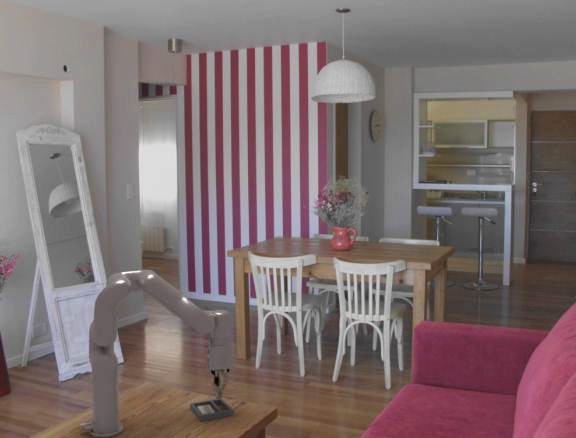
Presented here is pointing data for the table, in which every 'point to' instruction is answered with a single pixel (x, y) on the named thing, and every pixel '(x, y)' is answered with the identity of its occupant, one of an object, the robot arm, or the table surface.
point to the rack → (213, 404)
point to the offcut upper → (205, 409)
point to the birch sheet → (220, 384)
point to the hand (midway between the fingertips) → (219, 384)
